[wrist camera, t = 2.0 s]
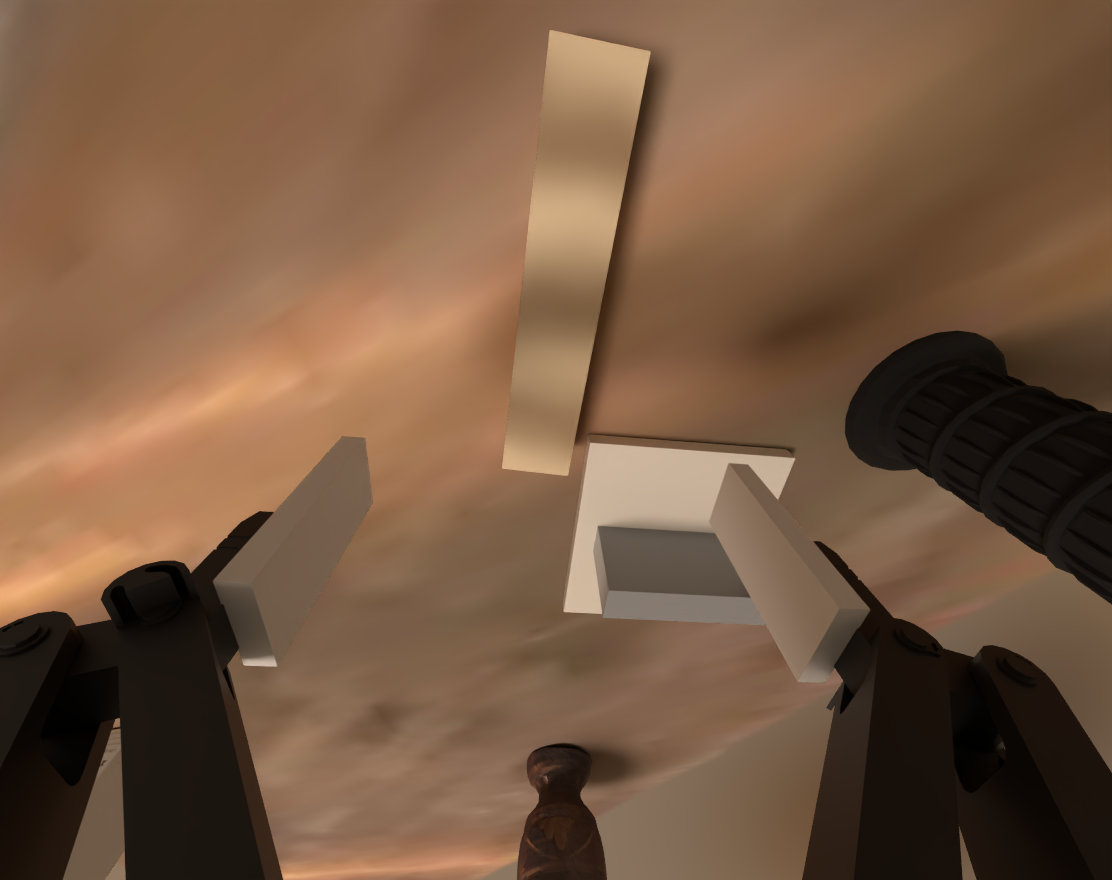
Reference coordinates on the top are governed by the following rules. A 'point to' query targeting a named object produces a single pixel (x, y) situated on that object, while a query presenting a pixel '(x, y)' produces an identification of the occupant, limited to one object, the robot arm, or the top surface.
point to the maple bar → (569, 240)
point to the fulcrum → (660, 530)
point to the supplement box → (101, 820)
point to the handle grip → (994, 447)
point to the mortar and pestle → (560, 821)
